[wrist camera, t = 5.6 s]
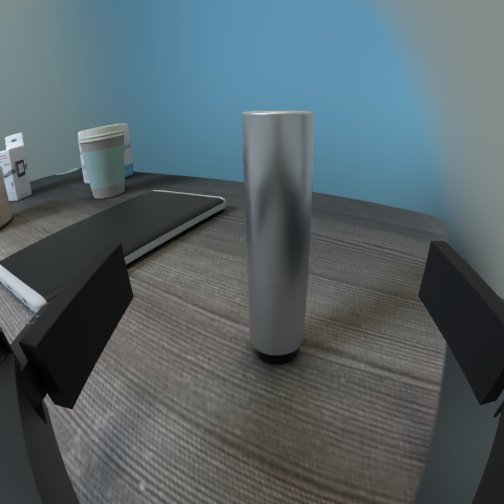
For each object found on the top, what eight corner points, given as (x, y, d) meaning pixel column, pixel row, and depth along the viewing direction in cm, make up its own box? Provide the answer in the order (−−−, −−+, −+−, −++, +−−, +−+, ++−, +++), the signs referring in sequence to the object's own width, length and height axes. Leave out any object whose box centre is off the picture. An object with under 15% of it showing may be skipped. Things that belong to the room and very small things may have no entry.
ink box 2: (134, 174, 65) (129, 122, 60) (103, 185, 59) (96, 128, 54) (112, 173, 69) (107, 125, 64) (83, 183, 63) (76, 132, 58)
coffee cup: (139, 185, 56) (132, 121, 51) (119, 199, 48) (110, 126, 43) (100, 188, 56) (92, 128, 51) (77, 202, 49) (67, 134, 44)
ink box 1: (0, 202, 57) (-11, 142, 51) (14, 195, 62) (5, 137, 55) (17, 201, 56) (6, 136, 49) (32, 194, 60) (23, 131, 53)
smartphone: (-6, 279, 26) (-11, 264, 25) (154, 199, 47) (153, 188, 46) (43, 323, 20) (36, 304, 19) (228, 209, 41) (228, 196, 41)
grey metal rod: (302, 335, 19) (312, 111, 14) (300, 370, 17) (314, 112, 11) (254, 332, 20) (248, 110, 14) (246, 366, 17) (235, 112, 12)
